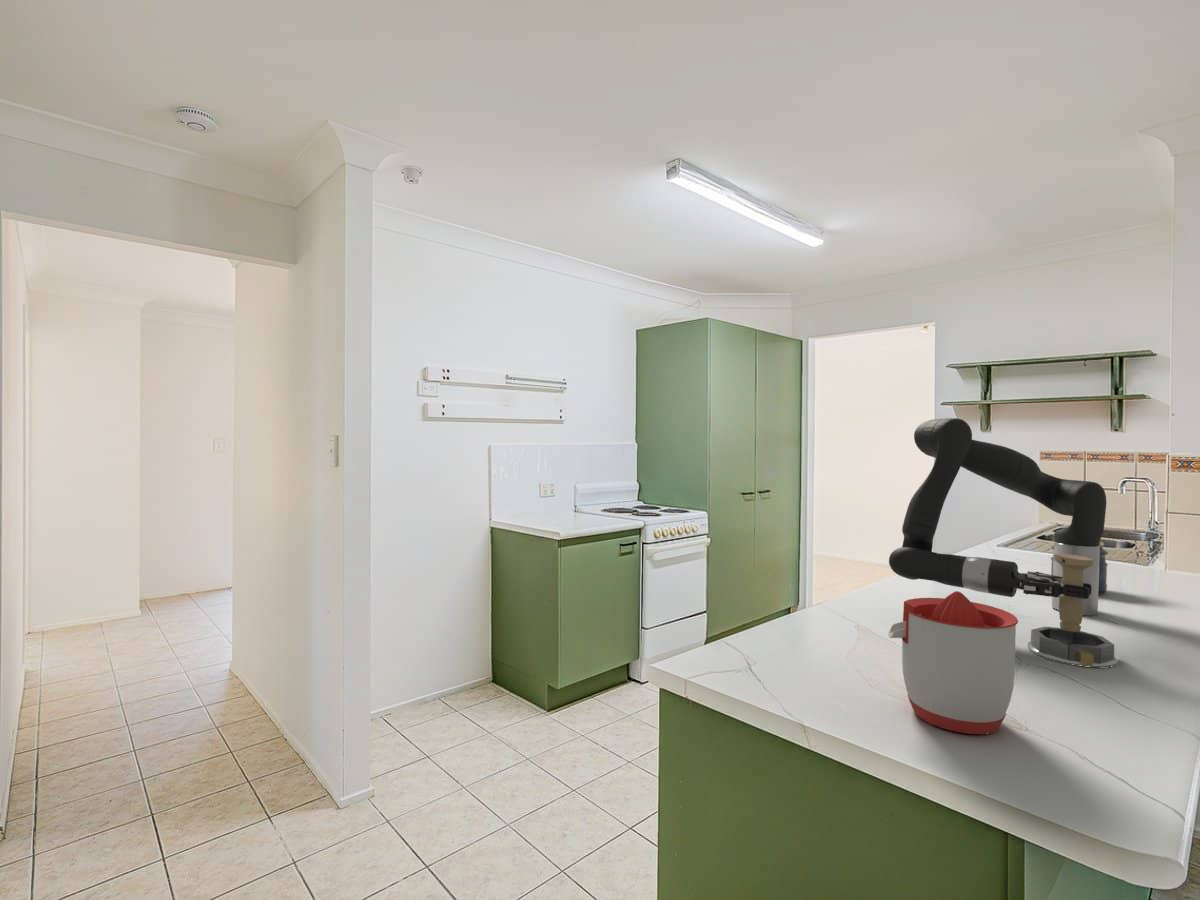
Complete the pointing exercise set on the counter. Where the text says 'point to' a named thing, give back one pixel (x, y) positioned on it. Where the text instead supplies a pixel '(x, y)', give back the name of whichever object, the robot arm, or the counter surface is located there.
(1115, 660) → the grey shallow octagonal dish
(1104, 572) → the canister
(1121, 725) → the counter surface
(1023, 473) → the robot arm
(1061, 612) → the handle
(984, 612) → the citrus juicer
